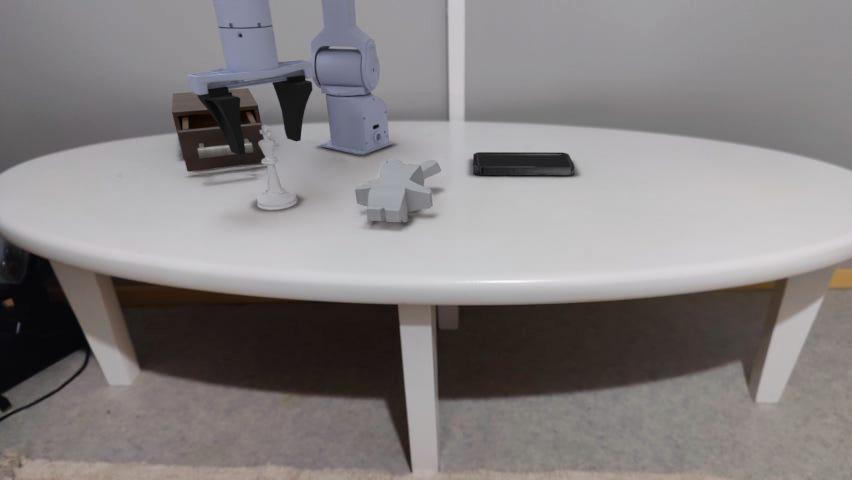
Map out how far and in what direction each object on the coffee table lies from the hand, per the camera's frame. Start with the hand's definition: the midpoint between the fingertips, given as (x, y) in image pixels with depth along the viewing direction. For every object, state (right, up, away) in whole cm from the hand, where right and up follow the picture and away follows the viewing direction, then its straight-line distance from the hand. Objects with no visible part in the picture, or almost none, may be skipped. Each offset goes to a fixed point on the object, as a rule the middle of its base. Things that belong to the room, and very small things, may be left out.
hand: (267, 146), depth 69 cm
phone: (+33, 0, +17) cm, 37 cm away
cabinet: (-18, +7, +28) cm, 34 cm away
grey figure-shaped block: (+16, -7, +3) cm, 18 cm away
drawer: (-13, +2, +18) cm, 22 cm away
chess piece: (0, -7, +4) cm, 8 cm away
